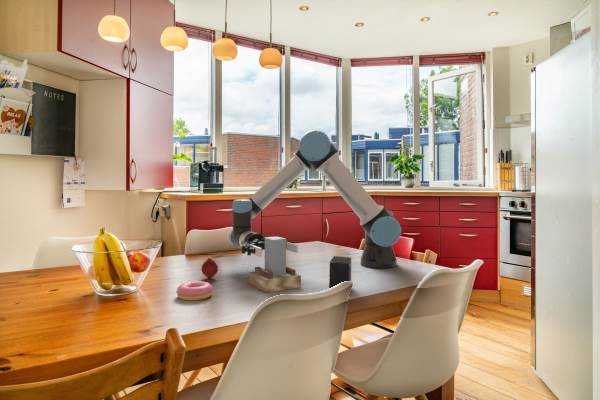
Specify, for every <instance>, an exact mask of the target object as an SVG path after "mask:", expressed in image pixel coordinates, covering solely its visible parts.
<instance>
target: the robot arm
mask: <svg viewBox="0 0 600 400" xmlns="http://www.w3.org/2000/svg"><path fill="white" fill-rule="evenodd" d="M298 146H299V147H298V149H297V150H296V151H294V152H293V157H292V158H291V159H290V160H288V161H287V162H286V164H284V165H283V166H282V167H281V168H280V169H279V170H278V171H277V172H276V173H274V175H273V176H271V177H270V178H269V179H268V180H267V181H266V182H265V183H264V184H262V186H261V187H260V188H259V189H258V190H257V191H255V192H254V194H252V196H250V197H249V198H248V199H234V200H233V202H232V207H231V209H232V230H231V232H230V234H229V235H228V236H229V237H228V239H229V242H230V243H231V245H232V246H234V247H236V248H238V249H241V254H243V255H244V254H246V253H247V256H251V255H254V256H257V257H263V251H265V237H264V235H263V234H261V233H259V232H255V231H253V230H252V229H253V226H252V224H253V223H252V221H253V219H255V218H257V216H258V215H259V214H260V213H261V212H262V211H263V210H264V209H265V208H266V207H267V206H269V204H270V203H271V202H273V200H275V199H276V198H277V197H278V196H279V195H280V194H281V193H282V192H284V190H286V189H287V188H288V187H289V186H290V185H291V184H292V183H293V182H294V181H296V179H298V177H300V176H301V175H302V174H303V173H304V172H305V171H310V170H311V169H312V168H313V170H314V171H315V172H321V173H322V174H323V175H324V177H325V178H326V179H327V181H328V182H329V183H330V184H331V185H332V187H333V188H334V189H335V190H336V191H337V193H338V194H339V195H340V196H341V198H343V200H344V201H345V202H346V204H347V205H348V206H349V207H350V208H351V209H352V210H353V212H354V213H355V214H356V216H357V217H358V218H359V219H360V222H359V225H360V226H361V227H362V229H363V230H364V248H363V251H362V253H361V257H360V265H362V266H363V267H367V268H373V269H376V268H377V269H389V268H391V269H392V268H394V267H395V268H396V267H397V264H398V261H397V260H398V259H397V256H396V254H395V250H394V245H396V243H397V242H398V241H399V239H400V238H401V235H402V227H401V225H400V223H399V221H398V220H397V219H395V217H394V213H393V210H387V209H386V207H385V205H379V204H377V202H375V200H374V199H373V198H372V196H371V195H370V194H369V192H367V190H366V189H365V188H364V186H362V184H361V183H360V182H359V180H358V179H356V177H355V176H354V174H353V173H352V172H351V171H350V170H349V168H348V167H347V166H346V165H345V164H344V162H342V160H341V158H340V157H339V153H340V152H339V150H338V149H337V148H336V146H335V145H334V144H333V143H332V142H331V140H330V137H329V136H328V134H326V133H325V132H324V131H322V130H316V129H314V130H309V131H308V132H306V133H303V136H301V138H300V140H299V144H298ZM286 251H289V252H293V253H295V254H298V252H299V245H298V244H297V243H295V241H293V240H291V239H288V240H286Z"/></svg>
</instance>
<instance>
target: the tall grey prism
mask: <svg viewBox="0 0 600 400" xmlns="http://www.w3.org/2000/svg"><path fill="white" fill-rule="evenodd" d="M264 238H265V250H264V269H265V270H267V271H270V272H272V273H273V276H275V275H282V274H286V267H287V249H286V241H287V238H285V237H280V236H268V237H264Z"/></svg>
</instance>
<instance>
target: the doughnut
mask: <svg viewBox="0 0 600 400" xmlns="http://www.w3.org/2000/svg"><path fill="white" fill-rule="evenodd" d="M213 290H214V288H213V285H212V284H211V283H209V282H208V281H207V282H206V281H198V280H197V281H187V282H185V283H181V284H179V285H178V287H177V288H176V291H175V292H176V295H177V297H178V298H179V299H180V300H182V301H189V302H190V301H191V302H192V301H200V300H201V301H202V300H206V299H208V298H210V296H211V295H213Z"/></svg>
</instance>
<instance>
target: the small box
mask: <svg viewBox="0 0 600 400" xmlns="http://www.w3.org/2000/svg"><path fill="white" fill-rule="evenodd" d="M328 272H329V274H328V276H329V279H328V281H329V282H328V285H329V286H328V289H329V288H331V287H333V286H335V285H337V284H339V283H341V282H344V281H351V282H352V257H348V256H336V255H334V256H333V257H332V258H331V260H330V261H329V271H328Z"/></svg>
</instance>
